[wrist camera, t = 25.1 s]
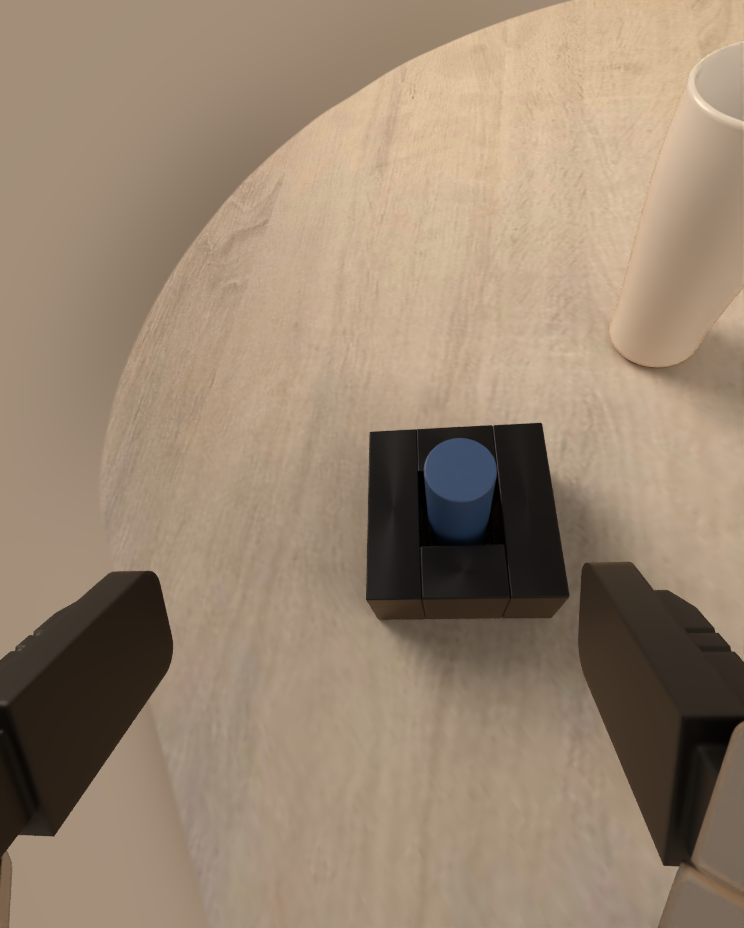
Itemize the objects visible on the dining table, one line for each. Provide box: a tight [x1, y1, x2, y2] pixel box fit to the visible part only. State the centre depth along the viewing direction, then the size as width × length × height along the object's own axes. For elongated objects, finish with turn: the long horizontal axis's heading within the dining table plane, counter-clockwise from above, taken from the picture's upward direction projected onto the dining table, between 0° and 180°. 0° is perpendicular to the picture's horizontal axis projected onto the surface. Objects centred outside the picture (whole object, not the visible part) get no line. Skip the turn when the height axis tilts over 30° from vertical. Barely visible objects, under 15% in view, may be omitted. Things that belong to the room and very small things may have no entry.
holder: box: [366, 423, 569, 620], centre depth 27 cm, size 9×9×4 cm
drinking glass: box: [609, 41, 744, 367], centre depth 27 cm, size 7×7×15 cm
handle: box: [424, 438, 497, 546], centre depth 25 cm, size 3×3×8 cm
